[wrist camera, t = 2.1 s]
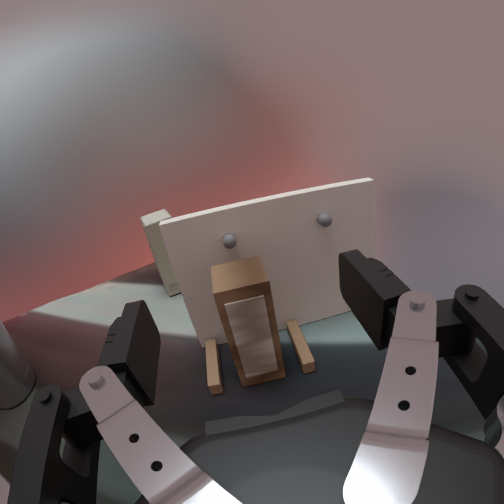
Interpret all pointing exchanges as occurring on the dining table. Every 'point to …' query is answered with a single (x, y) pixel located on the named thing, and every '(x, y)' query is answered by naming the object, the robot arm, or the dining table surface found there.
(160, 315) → the dining table surface
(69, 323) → the dining table surface
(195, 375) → the dining table surface
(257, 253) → the white upright flat panel
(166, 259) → the skincare box
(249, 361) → the frame block
